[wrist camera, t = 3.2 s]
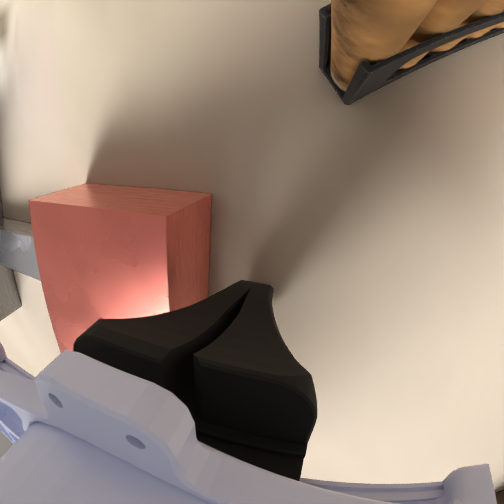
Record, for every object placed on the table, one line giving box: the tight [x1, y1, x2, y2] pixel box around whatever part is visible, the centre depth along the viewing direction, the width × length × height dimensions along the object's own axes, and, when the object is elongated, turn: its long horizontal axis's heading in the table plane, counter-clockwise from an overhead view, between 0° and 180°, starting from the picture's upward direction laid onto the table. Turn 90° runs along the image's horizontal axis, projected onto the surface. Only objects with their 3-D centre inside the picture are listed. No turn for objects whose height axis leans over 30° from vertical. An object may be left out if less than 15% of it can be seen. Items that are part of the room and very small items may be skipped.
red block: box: [29, 184, 212, 353], centre depth 13 cm, size 8×7×4 cm
